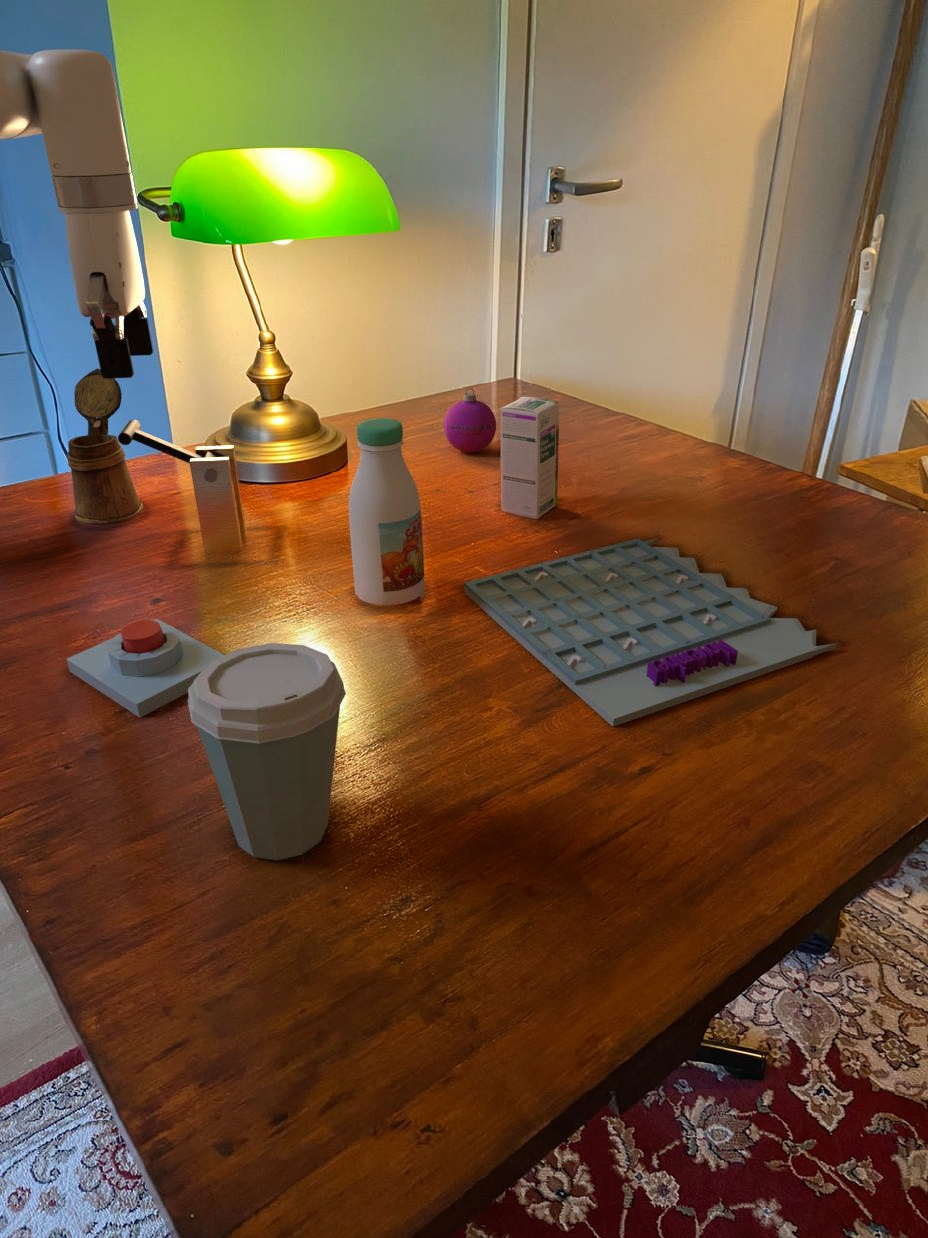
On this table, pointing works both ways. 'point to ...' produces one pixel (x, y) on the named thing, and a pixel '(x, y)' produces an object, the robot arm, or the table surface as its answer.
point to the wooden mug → (100, 458)
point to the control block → (144, 670)
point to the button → (142, 636)
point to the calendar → (640, 627)
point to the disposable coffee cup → (271, 742)
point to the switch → (156, 442)
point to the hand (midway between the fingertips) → (129, 365)
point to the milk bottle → (385, 519)
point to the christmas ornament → (470, 424)
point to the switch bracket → (218, 499)
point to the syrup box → (529, 456)
